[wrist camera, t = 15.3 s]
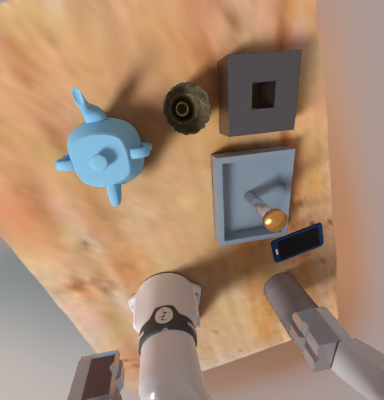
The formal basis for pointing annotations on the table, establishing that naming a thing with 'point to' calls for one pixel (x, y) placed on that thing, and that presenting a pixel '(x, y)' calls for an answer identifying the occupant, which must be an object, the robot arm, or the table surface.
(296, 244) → the cell phone
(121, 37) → the table surface
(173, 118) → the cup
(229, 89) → the block
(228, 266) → the table surface
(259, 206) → the pin
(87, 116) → the teapot
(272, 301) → the pillar candle
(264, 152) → the tray
